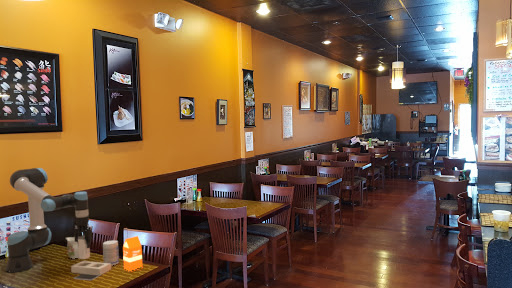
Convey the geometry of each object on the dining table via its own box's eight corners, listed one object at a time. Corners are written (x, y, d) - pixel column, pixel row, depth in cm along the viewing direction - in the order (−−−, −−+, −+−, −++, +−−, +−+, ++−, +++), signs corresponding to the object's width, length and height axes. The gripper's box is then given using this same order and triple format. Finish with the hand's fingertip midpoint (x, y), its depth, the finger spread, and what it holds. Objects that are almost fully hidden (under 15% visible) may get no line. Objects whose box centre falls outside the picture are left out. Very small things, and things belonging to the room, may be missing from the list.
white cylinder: (79, 258, 243) (77, 236, 243) (84, 256, 247) (83, 234, 247) (84, 259, 242) (83, 237, 241) (90, 256, 246) (88, 235, 246)
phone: (91, 281, 227) (91, 279, 227) (73, 279, 231) (73, 277, 231) (99, 277, 234) (99, 275, 234) (82, 275, 238) (82, 273, 238)
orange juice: (123, 269, 245) (122, 238, 244) (136, 265, 251) (134, 235, 250) (130, 271, 239) (128, 240, 239) (142, 267, 246) (141, 236, 245)
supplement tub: (120, 264, 254) (119, 242, 253) (105, 267, 249) (104, 245, 248) (117, 260, 262) (116, 239, 262) (102, 263, 257) (101, 241, 256)
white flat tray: (71, 272, 242) (71, 266, 242) (83, 267, 252) (82, 261, 251) (100, 275, 235) (99, 268, 235) (111, 269, 245) (110, 263, 244)
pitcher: (81, 261, 264) (80, 241, 263) (61, 259, 269) (60, 239, 269) (93, 256, 274) (92, 236, 274) (73, 254, 280) (72, 235, 279)
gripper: (66, 217, 243) (68, 253, 244) (89, 218, 237) (91, 255, 238) (75, 214, 250) (77, 250, 251) (97, 215, 245) (99, 251, 245)
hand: (84, 252), depth 244 cm, fingers closed on white cylinder, 4 cm apart
